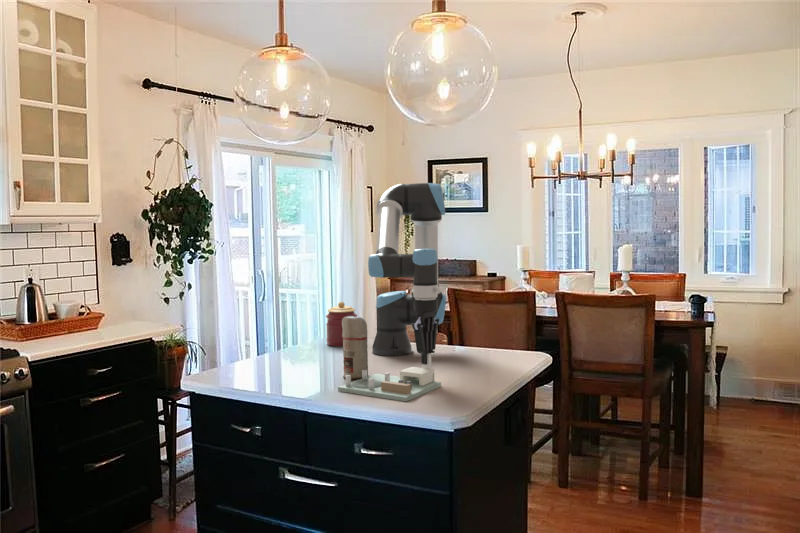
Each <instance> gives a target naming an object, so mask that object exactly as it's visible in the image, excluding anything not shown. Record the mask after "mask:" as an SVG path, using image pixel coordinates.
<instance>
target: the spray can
mask: <svg viewBox="0 0 800 533" xmlns="http://www.w3.org/2000/svg"><path fill="white" fill-rule="evenodd" d="M342 328H343V334H342V337H343V346H342V350H343V353H342V354H343V355H342V356H343V376H342V377H343V378H345V379H346V377H345V376H346V375H351V380H353V379H355V380H356V379H362V370H367V377H368V376H370V375H369V359H368V357H369V356H368V352H369V351H368V325H367V321H366V319H365V318H363V317H360V316H357V317H353V316H348V317H344V318H343V319H342Z"/></svg>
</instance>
